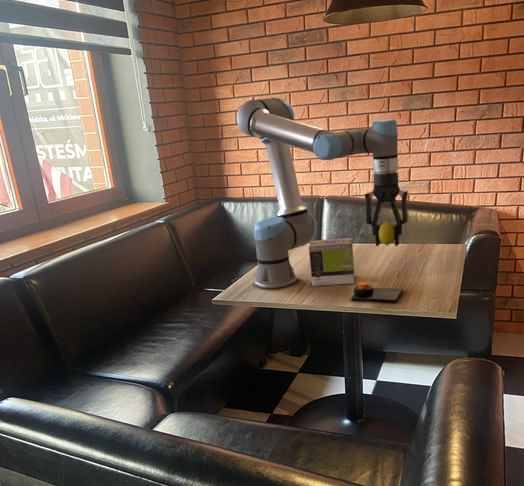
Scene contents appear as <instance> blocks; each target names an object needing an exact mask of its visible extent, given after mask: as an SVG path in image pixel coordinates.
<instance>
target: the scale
mask: <svg viewBox="0 0 524 486" xmlns="http://www.w3.org/2000/svg"><path fill="white" fill-rule="evenodd" d="M403 293H404V288H390V287H374V286H373V285H371V284H368V289H359V288H358V284H357V285H355V286H354V287H353V295H352V296H351V302H363V303H365V302H366V303H381V304H383V303H384V304H396V303H397V301H398V300H399V299H400V297H401V296H402V294H403Z"/></svg>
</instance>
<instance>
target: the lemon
mask: <svg viewBox="0 0 524 486" xmlns="http://www.w3.org/2000/svg"><path fill="white" fill-rule="evenodd" d="M378 235H379V239H380V243H381V244H384V245H385V246H390V244H392V243H393V242H395V225H394V224H392V223H391V222H389V221H387V220H386V221H385V222H384V223H382V224H381V225H380V228H379V233H378Z"/></svg>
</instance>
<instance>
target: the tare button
mask: <svg viewBox="0 0 524 486" xmlns="http://www.w3.org/2000/svg"><path fill="white" fill-rule="evenodd" d="M357 285H358V288H359V289H368V285H369V282H368V281H360V282H358V283H357Z"/></svg>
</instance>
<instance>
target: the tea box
mask: <svg viewBox="0 0 524 486" xmlns="http://www.w3.org/2000/svg"><path fill="white" fill-rule="evenodd" d="M308 254H309V264H310V265H309V268H310V276H311V277H310V278H311V285H312V286H313V287H314V286H316V287H317V286H332V285H334V286H335V285H349V284H350V285H351V284H352V285H353V284H354V283H355V264H354V261H355V260H354V247H353V238H352V237H341V238H329V239H317V240H316V239H314V240H312V241H311V242H310V243H309V245H308Z"/></svg>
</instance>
